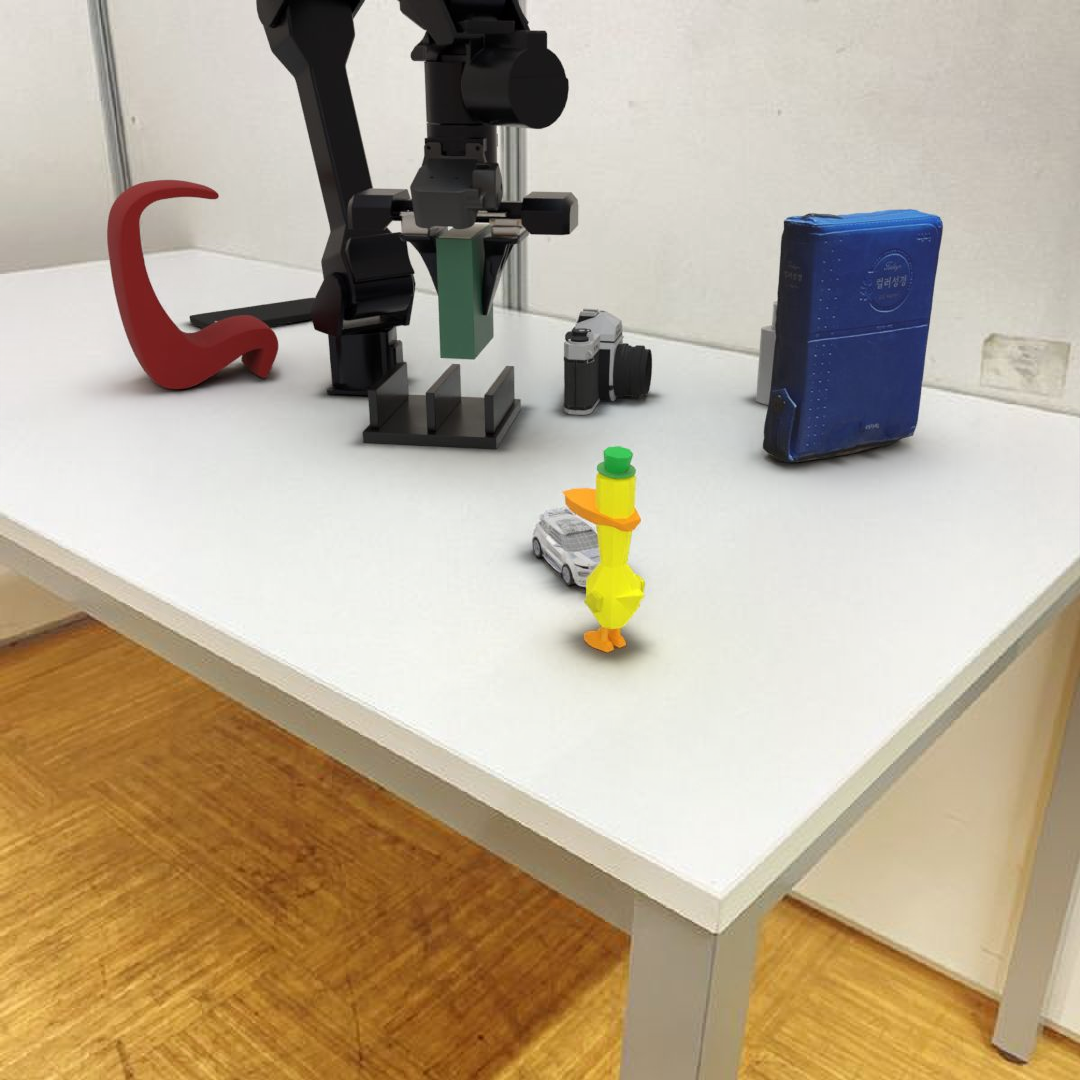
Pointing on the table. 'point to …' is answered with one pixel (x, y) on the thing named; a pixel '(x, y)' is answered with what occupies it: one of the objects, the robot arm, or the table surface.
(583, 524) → the toy car
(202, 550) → the table surface
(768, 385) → the power adapter
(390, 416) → the book rack
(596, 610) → the toy figure
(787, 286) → the book
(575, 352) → the camera
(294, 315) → the cell phone
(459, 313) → the small book
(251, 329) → the chair
